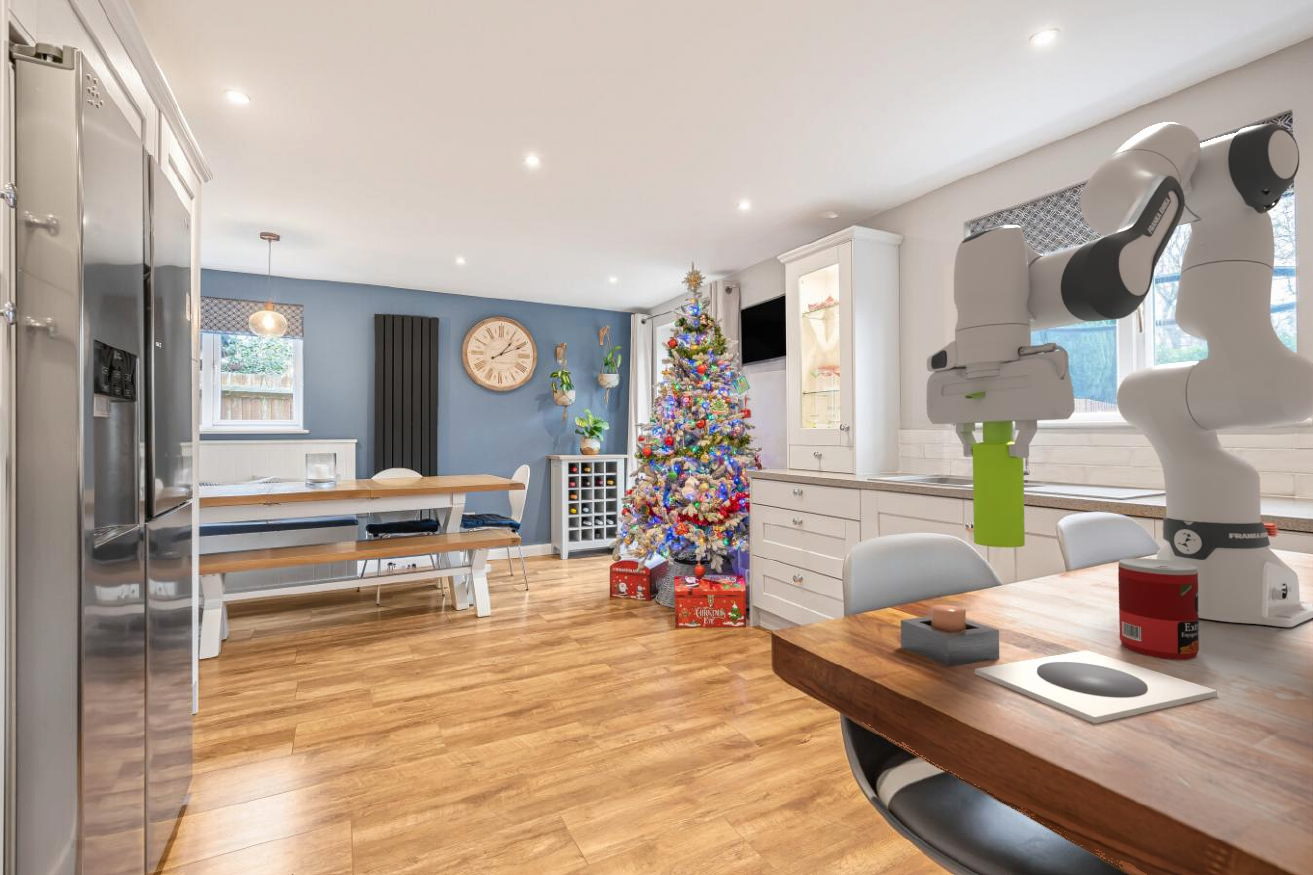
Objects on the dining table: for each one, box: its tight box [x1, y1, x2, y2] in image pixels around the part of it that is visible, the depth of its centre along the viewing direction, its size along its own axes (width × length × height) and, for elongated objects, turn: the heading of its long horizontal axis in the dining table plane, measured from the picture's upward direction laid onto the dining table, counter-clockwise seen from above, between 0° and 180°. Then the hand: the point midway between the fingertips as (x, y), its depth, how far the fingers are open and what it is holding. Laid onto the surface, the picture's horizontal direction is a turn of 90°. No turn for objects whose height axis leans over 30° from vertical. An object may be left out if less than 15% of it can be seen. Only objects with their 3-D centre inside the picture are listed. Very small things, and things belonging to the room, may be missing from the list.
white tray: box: [974, 649, 1218, 725], centre depth 70 cm, size 18×14×1 cm
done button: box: [930, 604, 967, 632], centre depth 82 cm, size 4×4×3 cm
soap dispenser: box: [964, 391, 1026, 548], centre depth 85 cm, size 6×7×20 cm
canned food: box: [1117, 557, 1200, 661], centre depth 82 cm, size 8×8×11 cm
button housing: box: [900, 615, 1000, 668], centre depth 82 cm, size 8×8×4 cm
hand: (994, 457), depth 85 cm, fingers closed on soap dispenser, 6 cm apart
